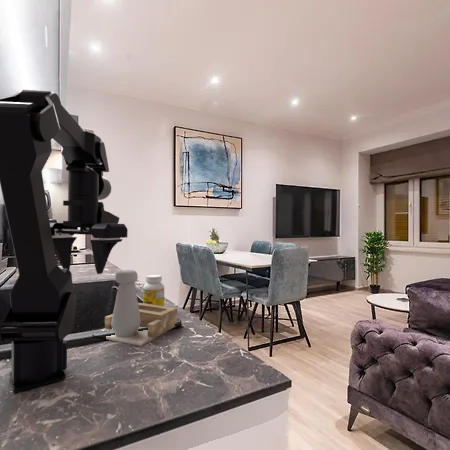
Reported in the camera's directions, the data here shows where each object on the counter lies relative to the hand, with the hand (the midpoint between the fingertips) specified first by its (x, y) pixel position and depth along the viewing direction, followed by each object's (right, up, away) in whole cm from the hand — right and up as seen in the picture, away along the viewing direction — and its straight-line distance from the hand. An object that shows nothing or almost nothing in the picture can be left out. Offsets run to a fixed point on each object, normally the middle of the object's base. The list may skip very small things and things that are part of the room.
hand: (82, 272), depth 64 cm
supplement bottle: (+11, -13, +17) cm, 24 cm away
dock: (+10, -13, +3) cm, 17 cm away
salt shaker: (+9, -13, 0) cm, 16 cm away
